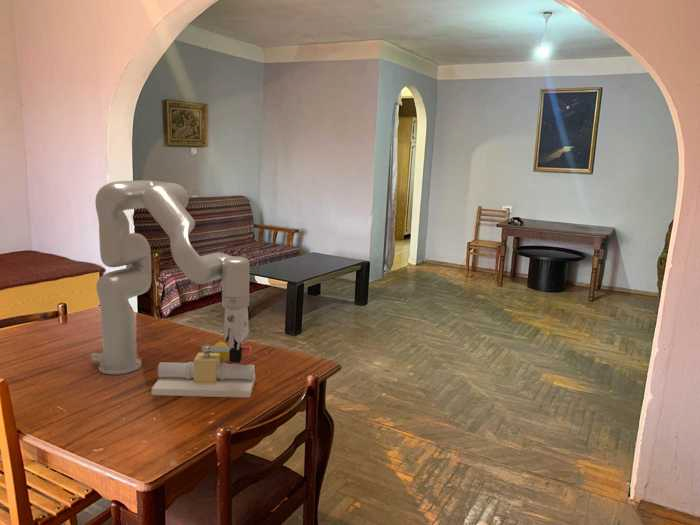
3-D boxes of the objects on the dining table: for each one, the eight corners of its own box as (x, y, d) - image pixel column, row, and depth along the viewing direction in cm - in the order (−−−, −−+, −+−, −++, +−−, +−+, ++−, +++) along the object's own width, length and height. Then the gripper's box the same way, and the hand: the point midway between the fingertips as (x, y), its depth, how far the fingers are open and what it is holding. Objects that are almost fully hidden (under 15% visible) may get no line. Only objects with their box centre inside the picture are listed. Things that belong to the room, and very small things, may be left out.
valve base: (151, 395, 154) (150, 360, 152) (164, 377, 166) (163, 345, 164) (249, 397, 156) (249, 363, 153) (255, 380, 167) (255, 348, 165)
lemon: (225, 368, 175) (225, 345, 174) (209, 366, 176) (209, 343, 175) (232, 362, 181) (232, 339, 179) (216, 360, 182) (216, 337, 180)
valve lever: (200, 353, 159) (200, 347, 159) (202, 349, 162) (202, 343, 162) (250, 354, 160) (250, 348, 160) (251, 350, 163) (251, 344, 163)
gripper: (242, 308, 144) (241, 372, 148) (254, 294, 159) (254, 352, 163) (214, 307, 145) (215, 370, 148) (229, 292, 159) (229, 351, 163)
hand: (235, 361), depth 155 cm, fingers closed
